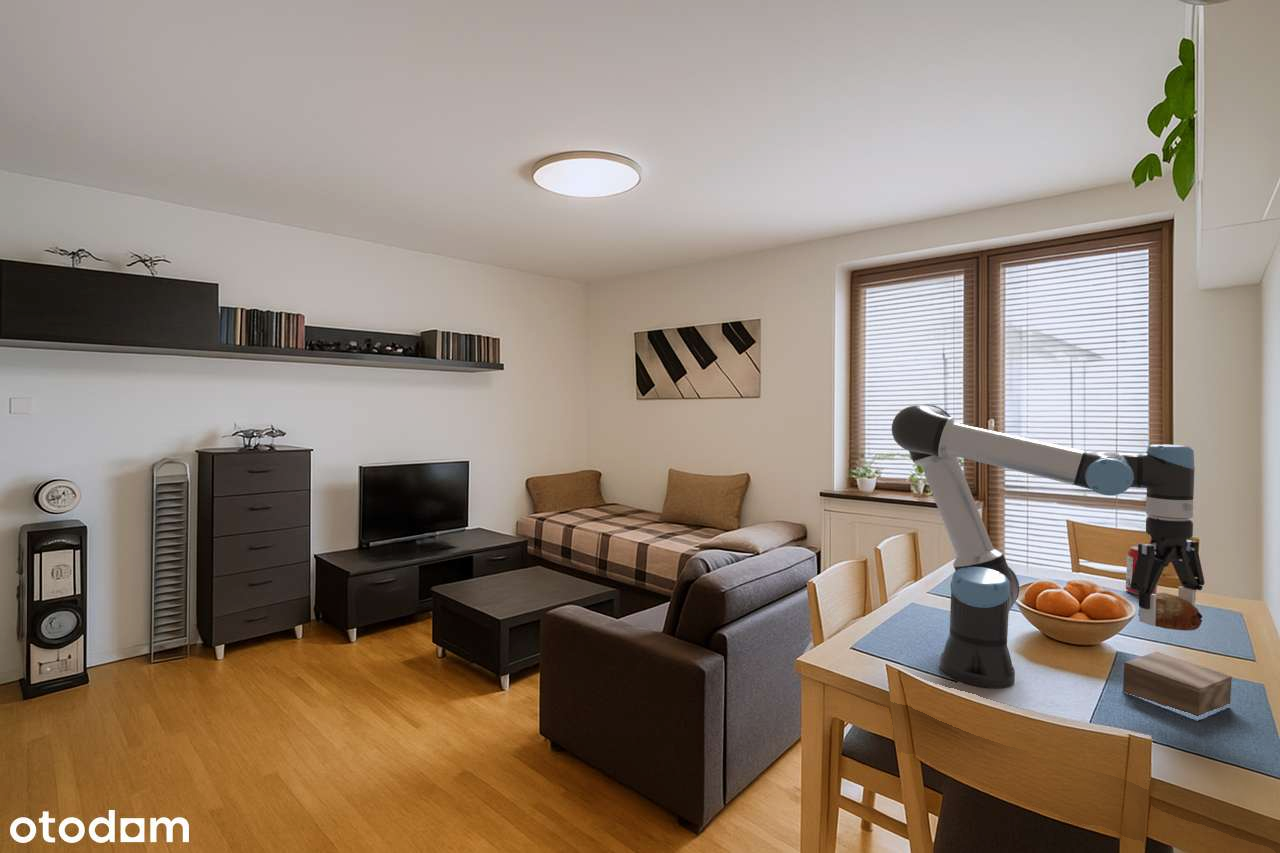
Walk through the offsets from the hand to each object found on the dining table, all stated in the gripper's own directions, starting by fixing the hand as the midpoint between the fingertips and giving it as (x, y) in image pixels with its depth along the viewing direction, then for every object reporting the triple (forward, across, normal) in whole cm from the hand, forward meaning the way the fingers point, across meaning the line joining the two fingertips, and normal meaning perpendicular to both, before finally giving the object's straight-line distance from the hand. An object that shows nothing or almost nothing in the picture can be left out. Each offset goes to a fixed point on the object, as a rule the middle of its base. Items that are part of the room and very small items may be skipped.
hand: (1166, 620), depth 129 cm
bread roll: (+1, 0, 0) cm, 1 cm away
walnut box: (+17, +1, -1) cm, 17 cm away
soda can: (+17, +67, +54) cm, 88 cm away
